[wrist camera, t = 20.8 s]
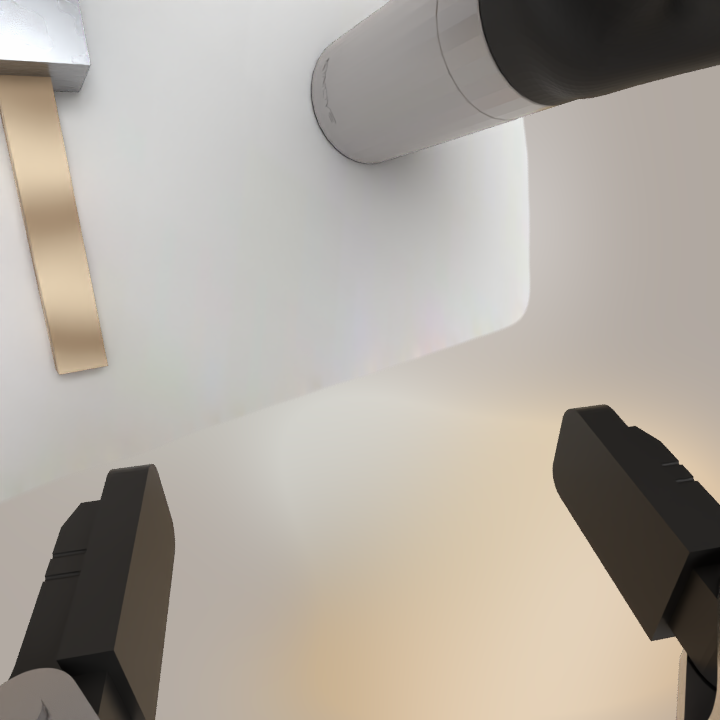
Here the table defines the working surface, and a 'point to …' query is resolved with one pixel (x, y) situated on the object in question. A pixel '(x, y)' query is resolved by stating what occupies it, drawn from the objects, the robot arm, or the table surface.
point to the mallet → (49, 167)
